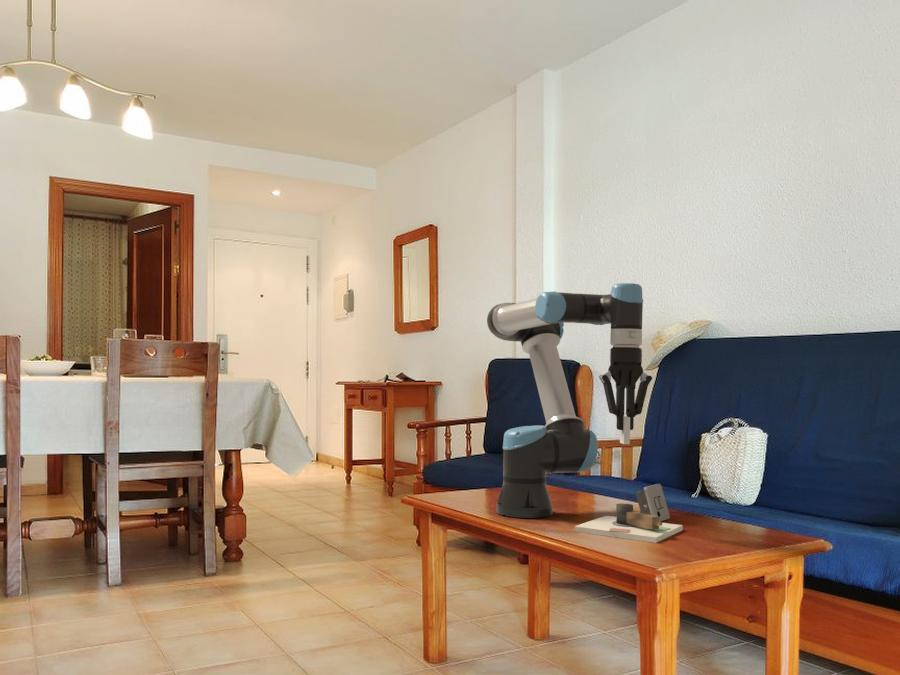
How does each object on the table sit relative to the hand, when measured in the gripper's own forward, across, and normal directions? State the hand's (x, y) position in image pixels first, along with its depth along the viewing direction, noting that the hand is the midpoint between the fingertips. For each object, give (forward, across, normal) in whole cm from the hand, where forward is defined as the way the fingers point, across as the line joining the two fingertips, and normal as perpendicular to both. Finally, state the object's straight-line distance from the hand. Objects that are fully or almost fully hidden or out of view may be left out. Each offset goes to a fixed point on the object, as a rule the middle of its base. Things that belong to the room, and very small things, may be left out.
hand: (624, 443), depth 180 cm
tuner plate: (+21, +1, -1) cm, 21 cm away
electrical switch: (+21, +12, +11) cm, 27 cm away
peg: (+19, +2, -4) cm, 20 cm away
